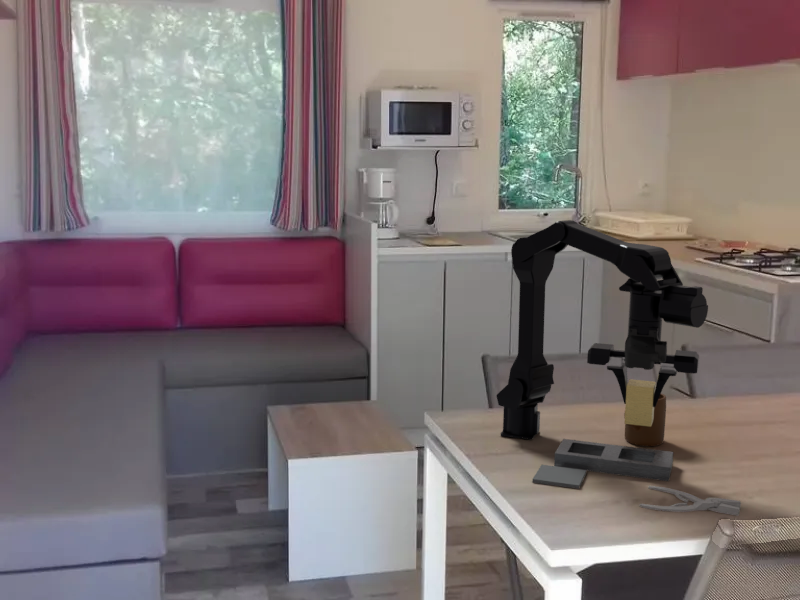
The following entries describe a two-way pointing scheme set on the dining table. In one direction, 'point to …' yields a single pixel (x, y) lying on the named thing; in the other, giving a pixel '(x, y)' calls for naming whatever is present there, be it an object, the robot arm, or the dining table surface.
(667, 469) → the grey flat frame
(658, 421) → the mug
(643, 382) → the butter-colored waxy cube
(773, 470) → the dining table surface
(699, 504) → the pliers
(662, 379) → the robot arm
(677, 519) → the dining table surface
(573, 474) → the pad
